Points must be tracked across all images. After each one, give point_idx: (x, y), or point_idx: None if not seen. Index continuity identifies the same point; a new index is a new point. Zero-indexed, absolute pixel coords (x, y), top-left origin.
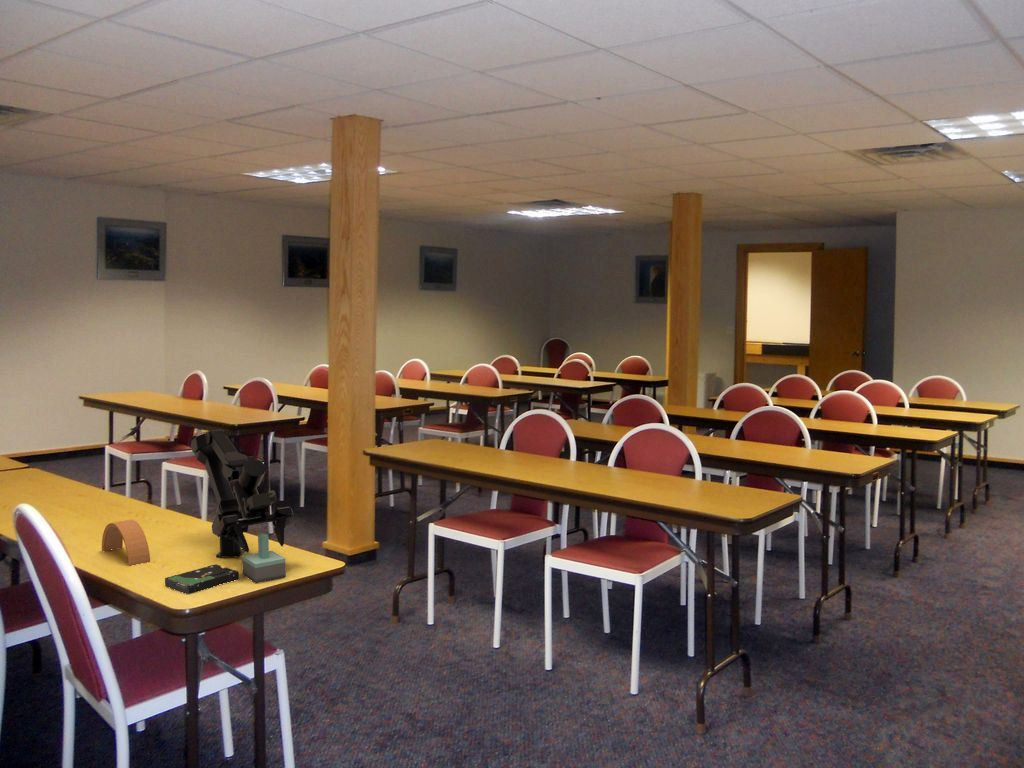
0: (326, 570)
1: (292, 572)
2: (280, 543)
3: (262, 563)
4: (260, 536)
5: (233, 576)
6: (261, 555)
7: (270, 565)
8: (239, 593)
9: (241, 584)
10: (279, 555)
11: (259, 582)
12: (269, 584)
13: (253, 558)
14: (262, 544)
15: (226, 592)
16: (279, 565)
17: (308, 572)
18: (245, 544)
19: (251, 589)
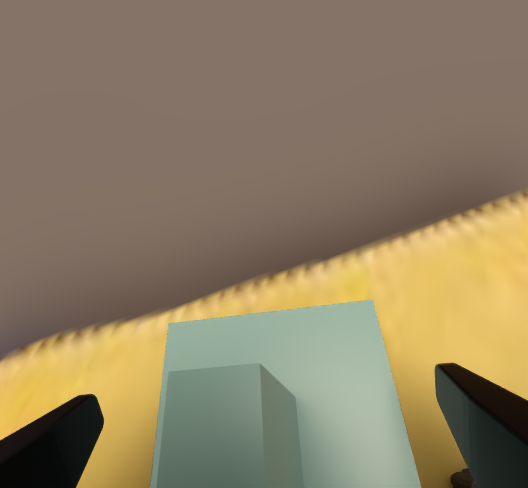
0: (35, 355)
1: (148, 419)
2: (83, 444)
3: (322, 307)
4: (267, 461)
5: None
6: (296, 429)
7: None
8: (450, 239)
9: (436, 362)
10: (161, 424)
11: None
12: (305, 292)
13: (362, 470)
14: (278, 386)
15: (516, 276)
16: None
17: (99, 371)
18: (509, 396)
19: (392, 265)
